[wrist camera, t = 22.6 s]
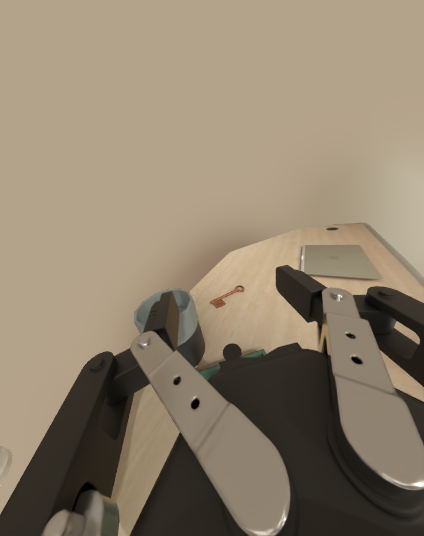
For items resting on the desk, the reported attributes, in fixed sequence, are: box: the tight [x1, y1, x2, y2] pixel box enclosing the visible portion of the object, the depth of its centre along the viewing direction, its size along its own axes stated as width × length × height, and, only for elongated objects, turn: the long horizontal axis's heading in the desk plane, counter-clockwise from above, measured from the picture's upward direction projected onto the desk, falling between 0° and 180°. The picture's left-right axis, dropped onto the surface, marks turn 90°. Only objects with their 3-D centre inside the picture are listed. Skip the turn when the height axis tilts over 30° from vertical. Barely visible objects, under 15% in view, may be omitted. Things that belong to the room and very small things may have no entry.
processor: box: [134, 289, 205, 367], centre depth 39 cm, size 13×13×16 cm
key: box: [210, 286, 244, 308], centre depth 60 cm, size 6×1×15 cm
